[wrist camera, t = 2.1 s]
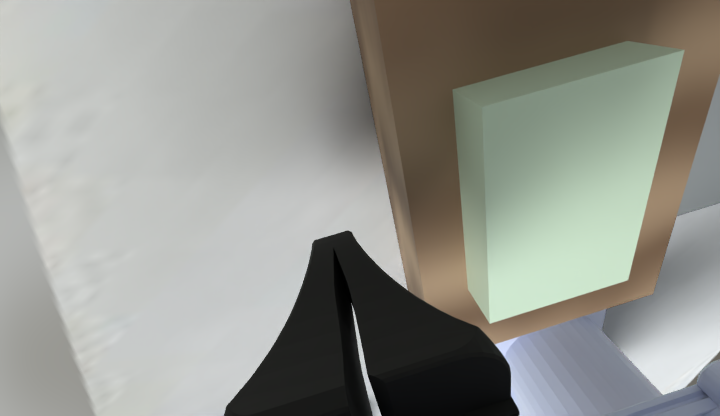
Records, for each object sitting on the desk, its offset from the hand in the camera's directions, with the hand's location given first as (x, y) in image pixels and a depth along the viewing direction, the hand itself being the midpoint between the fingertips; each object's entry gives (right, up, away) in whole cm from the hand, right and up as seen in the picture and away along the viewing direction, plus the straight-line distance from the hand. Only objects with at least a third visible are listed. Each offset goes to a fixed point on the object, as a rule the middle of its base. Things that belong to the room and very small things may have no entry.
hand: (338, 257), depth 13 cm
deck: (+8, +5, +5) cm, 10 cm away
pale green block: (+8, +3, +1) cm, 8 cm away
